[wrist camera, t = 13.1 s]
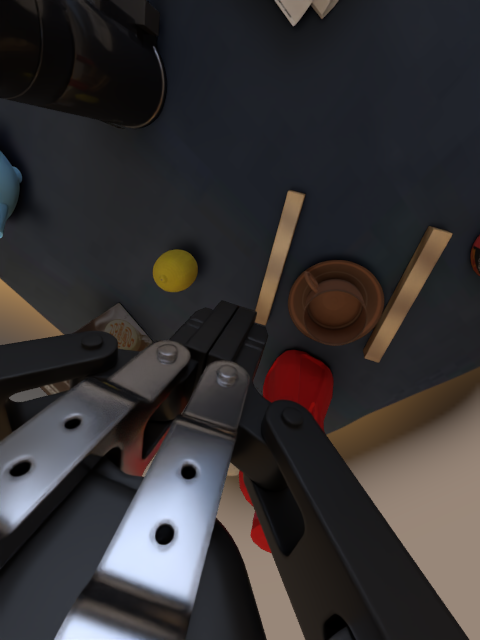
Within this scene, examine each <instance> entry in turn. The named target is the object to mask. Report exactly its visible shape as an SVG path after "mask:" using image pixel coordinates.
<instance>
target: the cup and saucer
mask: <svg viewBox="0 0 480 640" xmlns="http://www.w3.org/2000/svg"><path fill="white" fill-rule="evenodd" d="M288 308H289V313H290V316H291V319H292V321H293V323H294V324H295V326H296V327H297V328H298V329H299V330H300V331H301V332H302V333H303V334H304V335H306V336H307V337H309V338H311V339H313V340H315V341H318V342H320V343H323V344H326V345H333V346H337V345H344V344H347V343H350V342H353V341H355V340H358V339H360V338H361V337H363V336H365V335H366V334H367V333H369V332H370V331H371V330H372V329H373V328H374V327H375V326H376V324H377V323H378V321H379V319H380V317H381V315H382V312H383V308H384V294H383V290H382V288H381V285H380V283H379V282H378V280H377V279H376V277H375V276H374V275H373V274H372V273H371V272H370V271H368V270H367V269H366V268H364V267H362V266H361V265H358V264H356V263H353V262H349V261H344V260H330V261H325V262H321V263H318V264H316V265H314V266H312V267H310V268H308V269H307V270H306V271H304V272H303V273H302V274H301V275H300V276H299V277H298V278H297V279H296V281H295V282H294V284H293V286H292V288H291V290H290V293H289V298H288Z"/></svg>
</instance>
